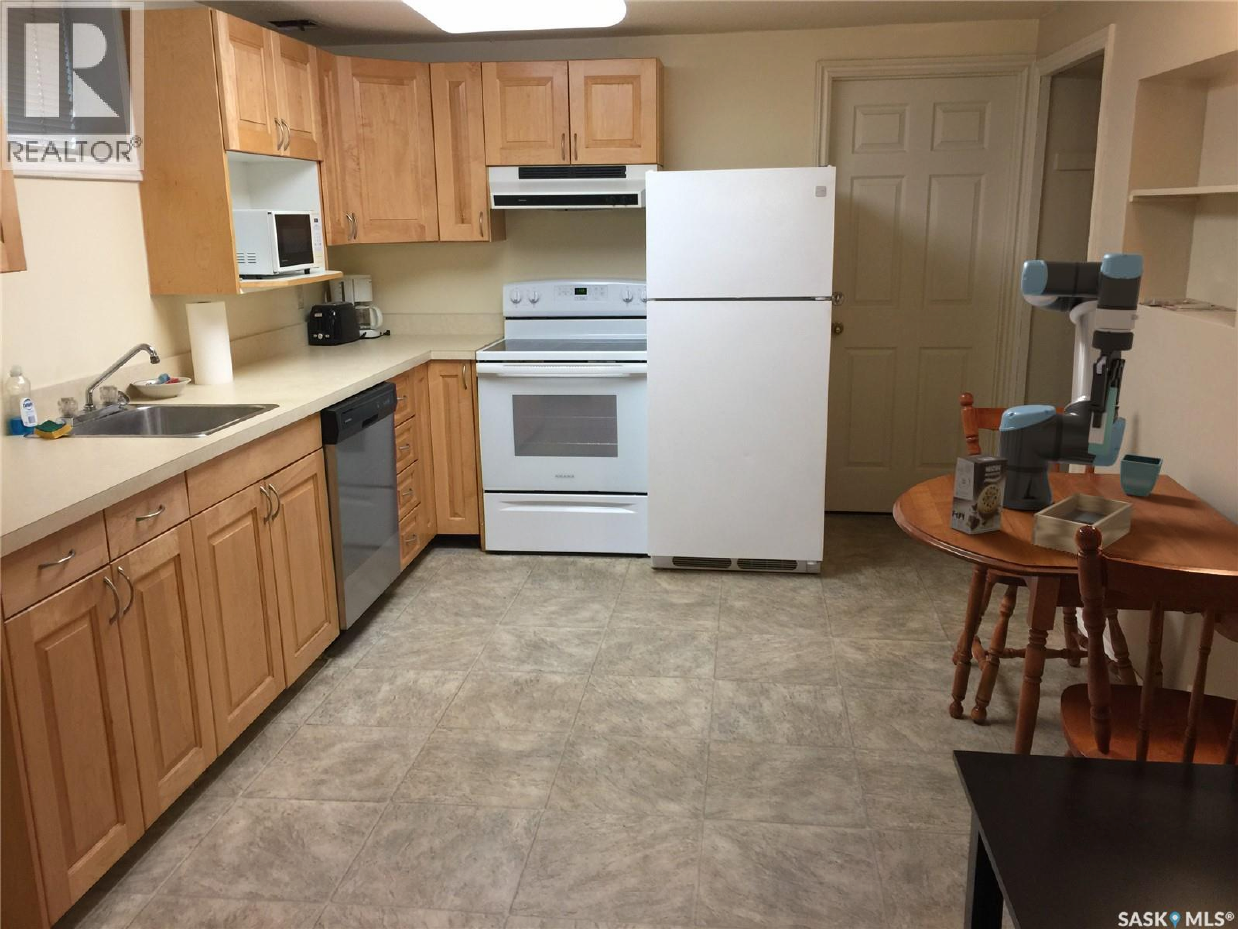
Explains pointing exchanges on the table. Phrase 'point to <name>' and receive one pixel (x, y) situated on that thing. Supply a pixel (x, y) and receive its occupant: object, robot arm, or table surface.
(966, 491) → the coffee box
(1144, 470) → the flower pot
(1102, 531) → the crate
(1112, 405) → the peg
